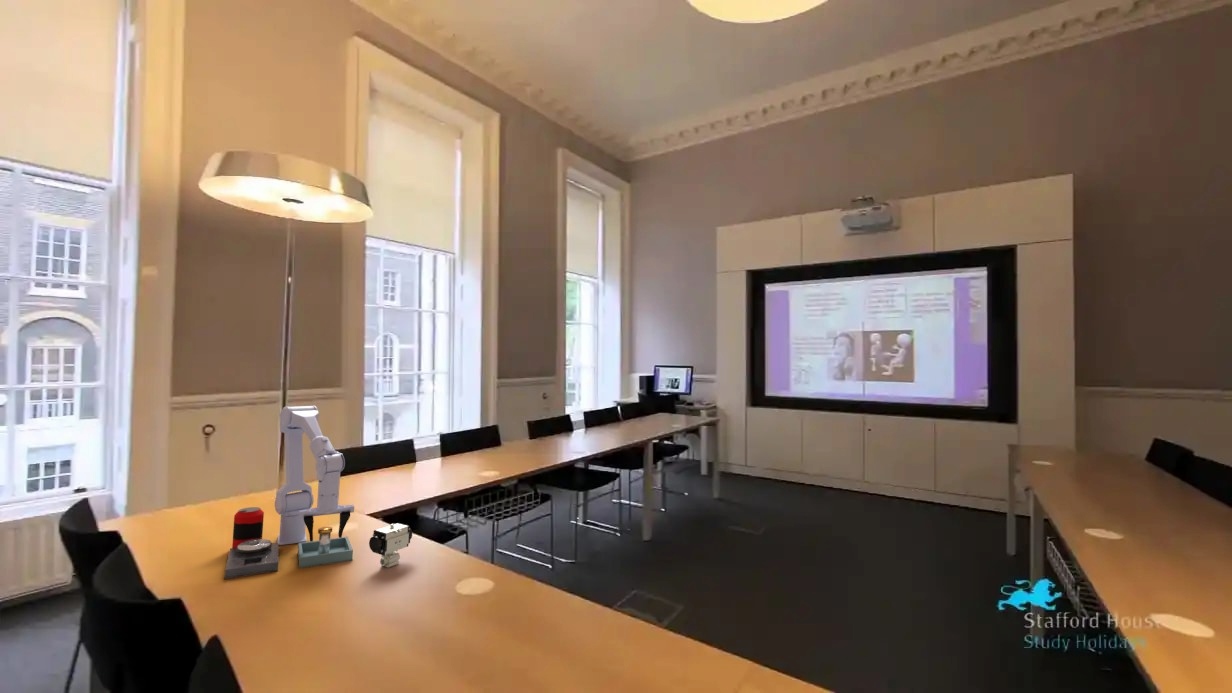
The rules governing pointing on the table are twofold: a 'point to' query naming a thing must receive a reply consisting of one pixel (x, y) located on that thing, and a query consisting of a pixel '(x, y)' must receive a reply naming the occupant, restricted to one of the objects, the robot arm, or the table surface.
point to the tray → (338, 553)
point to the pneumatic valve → (390, 542)
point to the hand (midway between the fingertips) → (325, 538)
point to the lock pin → (324, 539)
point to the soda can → (247, 525)
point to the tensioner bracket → (252, 558)
